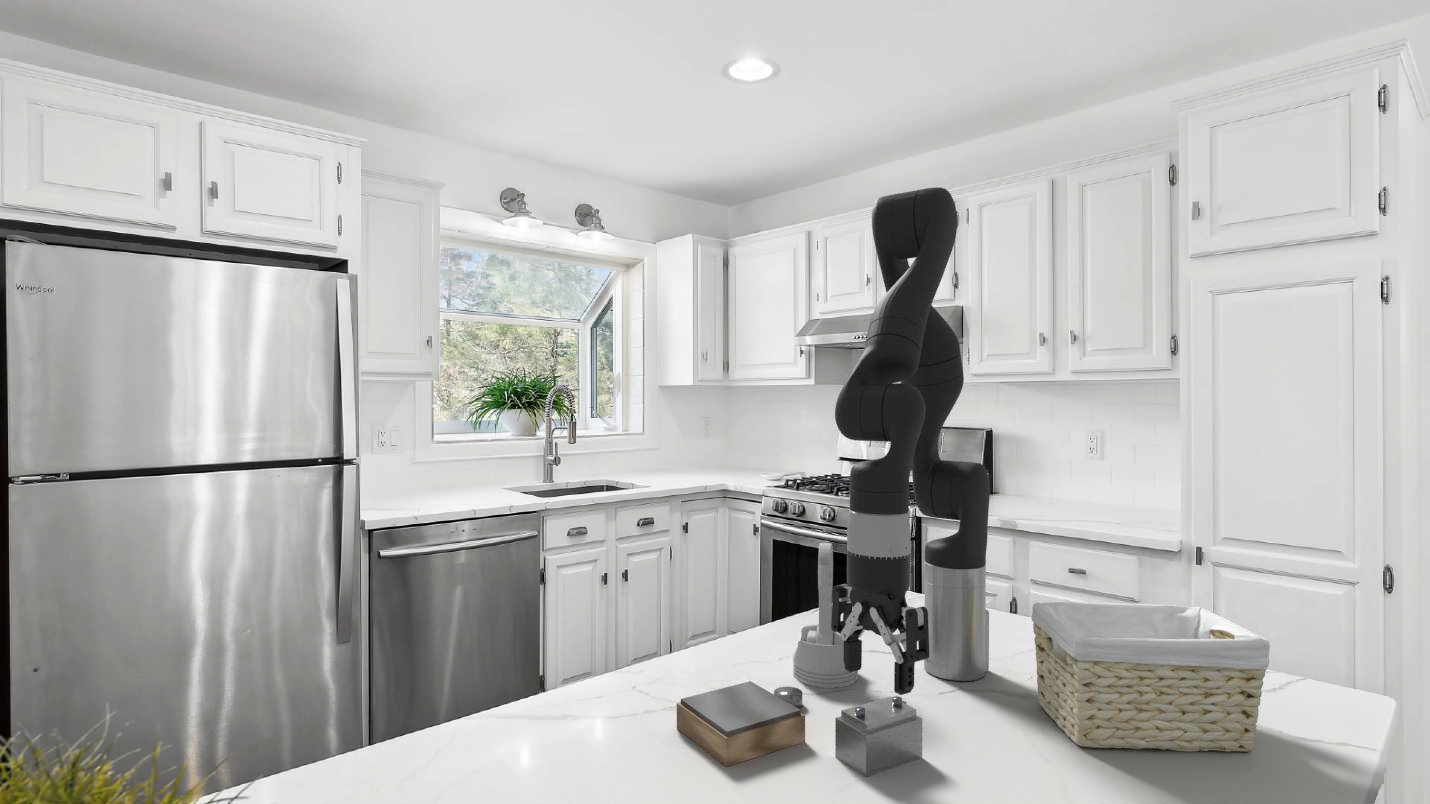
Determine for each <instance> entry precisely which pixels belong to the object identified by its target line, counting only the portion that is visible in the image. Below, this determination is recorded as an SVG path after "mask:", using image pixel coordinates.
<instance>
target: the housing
mask: <svg viewBox="0 0 1430 804" xmlns="http://www.w3.org/2000/svg"><path fill="white" fill-rule="evenodd" d="M902 701H903V697H901V696H899V695H898V696H897V695H894V696H887V697H884V698H880V699H877V700H874V701H869V702H867V703H863V704H859V705H855V706H852V707H848V708H845V709H841V710H840V711H841V712H840V714H841V715H840V716H838V717H835V721H834V722H835V727H834V728H835V739H834V740H835V744H834V745H835V747H834V748H835V758H836V759H838V760H839V761H840V762H842V763H843V764H845V765H846V766H848V767H850V768H851V769H853V770H854V771H856V772H857V773H859V774H861V775H862V776H864V777H865V778H868V777H871V776H874V775H877V774H880V773H882V772H885V771H889V770H891V769H895V768H897V767H900V766H903V765H905V764H908V763H911V762H914V761H917V760H920V759H922V758H923V717H921V716H919V715H917V709H916V708H914V707H912V706H910V705H908V704H907V703H906V704H904V703H902Z"/></svg>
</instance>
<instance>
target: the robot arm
mask: <svg viewBox="0 0 1430 804" xmlns="http://www.w3.org/2000/svg"><path fill="white" fill-rule="evenodd" d="M957 214H958V213H957V208H956V204H955V201H954V198H953V196H952V194H951V192H950V191H949V190H947V189H946V188H944V187H941V186H940V187H939V186H938V187H927V188H921V189H917V190H916V189H915V190H910V191H904V192H900V193H899V192H898V193H894V194H889V195H884V196H883V195H882V196H880V197H878V198H877V199H876V200H875V202H874V204H873V206H872V211H871V230H872V235H873V242H874V246H875V250H876V255H877V261H878V263H879V268H880V273H881V276H882V279H883V280H882V281H883V285H884V288H885V294H884V295H883V297H882V298H881V299H880V301H879V302H878V304H877V305H876V306H875V309H874V310H873V313H872V315H871V318H870V321H869V325H868V329H867V334H866V339H865V342H864V346H863V351H862V354H861V355H860V357H859V358H858V361H857V363H856V364H855V366H854V367H853V370H852V371H851V373H850V375H849V376H848V378H847V379H846V380H845V382H844V384H843V386H842V388H841V390H840V392H839V394H838V396H837V400H836V403H835V409H834V419H835V425H836V427H837V428H838V429H837V430H839V432H840V433H841V435H842V436H844V437H845V438H846V439H848V440H852V441H859V442H860V441H862V442H883V443H885V442H886V443H887V442H889V443H890V447H889V449H888V451H887V452H886V454H885V456H884V457H880V458H876V459H869V460H865V461H860V462H856V463H855V464H853V466H852V467H851V469H850V474H849V514H848V522H847V528H846V530H847V531H846V532H847V534H846V539H847V540H846V583H843V584H839V585H834V586H833V587H832V621H831V628H832V630H833V631H834V632H838V633H839V634H841V638H842V640H844V664H845V670H847V671H849V672H854V671H858V672H859V671H860V670H861V669H862V665H863V664H862V662H863V659H862V658H863V653H862V651H863V650H862V649H863V648H862V647H863V640H862V639H859V638H861V637H862V635H863V634H864V632H865V631H867V632H870V631H871V632H873V633H874V634H875V635H878V636H880V637H881V638H882V640H883V643H884V644H885V645H886V646H887V647H889V648H890V651H891V653H892V655H893V656H894V659H895V661H894V665H893V667H894V668H893V669H894V672H893V673H894V674H893V675H894V678H893V681H894V682H893V683H894V684H893V685H894V686H893V690H894V693H895V694H897V695H898V696H899V695H900V696H902V695H906V694H910V693H911V692H912V690H913V689H914V687H915V665H916V663H917V662H920V661H923V667H924V670H925V671H926V672H927V673H929V674H930V675H933V677H937V678H939V679H944V680H949V681H956V682H959V681H962V682H968V681H969V682H970V681H976V680H979V679H981V678H984V676H985V675H986V672H987V671H989V670H990V663H989V662H990V612H989V610H987V609H986V606H987V605H986V600H987V599H986V597H987V596H986V588H987V587H986V586H987V585H986V579H987V576H986V573H987V571H986V569H987V566H986V563H987V561H986V560H987V549H988V530H989V529H988V528H989V527H988V525H989V510H990V509H989V508H990V497H991V496H990V495H991V487H990V486H991V484H990V475H989V473H988V470H987V468H986V467H985V466H984V464H982V463H979V462H974V461H962V460H960V461H958V460H944V459H943V460H942V459H941V457H940V455H939V453H940V452H939V438H940V434H941V431H942V429H943V427H944V425H945V422H946V420H947V418H948V417H949V415H950V413H951V412H952V410H953V408H954V407H955V404H956V403H957V401H958V399H959V397H960V394H961V393H962V390H963V386H964V382H965V381H964V380H965V379H964V369H963V367H964V366H963V361H962V354H961V348H960V347H961V346H960V342H959V338H958V336H957V335H956V333H955V331H954V329H952V327H951V326H950V325H949V323H948V322H947V321H946V319H944V318H943V316H942V315H941V314H940V313H939V311H937V310H936V308H935V307H934V306H933V301H934V299H935V296H936V294H937V292H938V290H939V286H940V284H941V282H942V279H943V277H944V273H945V271H946V268H947V266H948V263H949V259H950V257H951V255H952V251H953V248H954V246H955V243H956V237H957V231H958V215H957ZM910 259H914V260H913V262H912V263H911V265H910V263H909V261H908V260H910ZM899 382H900V383H899ZM911 472H912V474H911ZM910 475H912V477H911V478H912V486H913V487H912V488H913V495H914V500H915V503H916V507H917V508H918V510H919V512H920V513H921V514H922V515H923V516H925V517H930V518H934V519H942V520H943V519H944V520H954V521H959V527H958V530H957V532H956V533H953V534H952V535H949V536H945V537H941V538H937V539H933V540H931V541H928V542H927V543H926V544H925V547H924V606H919V607H914V606H913V607H912V606H909V605H908V602H907V599H906V594H907V591H908V590H909V588H910V586H911V539H912V538H911V536H912V535H911V525H910V514H909V513H910V512H909V511H910V510H909V509H910V500H909V499H910V488H909V487H910ZM842 614H843V615H842ZM841 616H842V618H841ZM841 619H842V620H841ZM897 630H898V632H899V633H898V634H897V633H896V634H894V633H895V632H896V631H897ZM902 647H903V648H902Z"/></svg>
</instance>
